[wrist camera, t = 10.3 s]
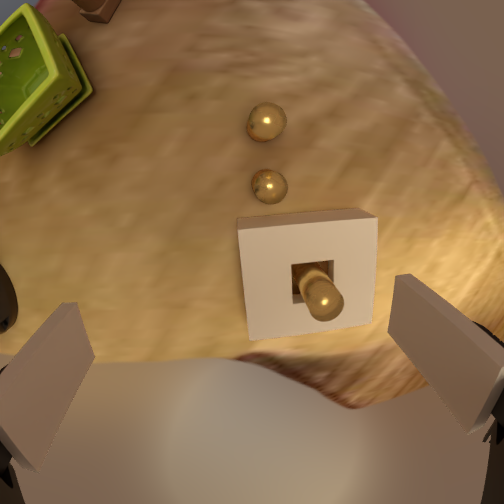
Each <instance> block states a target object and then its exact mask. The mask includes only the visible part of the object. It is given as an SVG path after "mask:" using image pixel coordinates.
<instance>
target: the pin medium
mask: <svg viewBox="0 0 504 504" xmlns="http://www.w3.org/2000/svg"><path fill="white" fill-rule="evenodd" d="M286 123H287V119H286V114H285V112H284V111H283V109H282V108H281V107H280V106H278V105H276V104H274V103H270V102H265V103H261V104H259V105H257V106H256V107H254V108H253V110H252V111H251V113H250V116H249V119H248V122H247V132H248V135H249V136H250V137H251V138H252V139H253V140H255V141H258V142H265V141H268V140H270V139H272V138H274V137H276V136H278V135H279V134H281V133H282V132H283V130H284V129H285V127H286Z"/></svg>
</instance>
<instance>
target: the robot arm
mask: <svg viewBox="0 0 504 504" xmlns="http://www.w3.org/2000/svg"><path fill="white" fill-rule="evenodd" d="M16 317H17V300H16V295H15V292H14V289H13V286H12V284H11V281H10V279H9V277H8V275H7V274H6V272H5V271H4V269H3V268H2V266H1V265H0V334H2V333H4V332H6V331H7V330H8V329H9V328H10V327H11V326H12V325H13V324H14V322H15V320H16ZM388 333H389V334H390V336H391V337H392V338H393V339H394V341H395V342H396V343H397V344H398V345H399V347H400V348H401V349H402V350H403V352H404V353H405V354H406V355H407V357H408V358H409V359H410V360H411V362H412V363H413V364H414V365H415V367H416V368H417V369H418V370H419V372H420V373H421V374H422V375H423V377H424V378H425V379H426V381H427V382H428V383H429V384H430V386H431V387H432V388H433V389H434V391H435V392H436V393H437V395H438V396H439V397H440V399H441V400H442V401H443V403H444V404H445V405H446V407H447V408H448V409H449V411H450V412H451V413H452V415H453V416H454V417H455V419H456V420H457V421H458V423H459V424H460V425H461V427H462V428H463V429H464V431H465V432H466V434H467V435H468V434H470V433H472V432H474V431H476V430H477V429H479V428H481V427H483V426H484V425H485V423H486V421H487V419H488V418H489V416H490V414H492V415H493V416H494V417H495V418H496V419H495V420H494V422H493V424H492V425H491V427H490V429H489V430H488V432H487V433H486V435H485V437H484V439H483V442H486V440H487V439H488V437H489V436H490V435H491V440H490V441H489V443H490V452H489V460H488V467H487V474H486V480H485V485H484V491H483V496H482V500H481V504H504V343H503V342H502V341H500V339H499V338H497V337H496V336H495V335H493V333H491V332H490V331H489V330H488V329H487V328H485V327H484V326H482V325H480V324H478V323H476V322H474V321H471V320H470V319H469V318H467V317H466V316H465V315H464V314H462V313H461V312H460V311H459V310H457V309H456V308H455V307H454V306H452V305H451V304H450V303H448V302H447V301H446V300H445V299H443V298H442V297H441V296H439V295H438V294H437V293H436V292H434V291H433V290H432V289H430V288H429V287H428V286H426V285H425V284H424V283H422V282H421V281H420V280H418V279H417V278H416V277H414V276H413V275H412V274H404V275H397V276H395V285H394V293H393V300H392V307H391V314H390V320H389V326H388ZM94 358H95V356H94V353H93V350H92V347H91V345H90V342H89V339H88V336H87V333H86V330H85V327H84V324H83V321H82V318H81V315H80V311H79V308H78V305H77V302H74V303H62V304H61V305H60V306H59V307H58V308H57V309H56V310H55V311H54V312H53V313H52V314H51V316H50V317H49V318H48V319H47V320H46V321H45V322H44V323H43V324H42V325H41V327H40V328H39V329H38V330H37V331H36V332H35V333H34V334H33V336H32V337H31V338H30V339H29V340H28V341H27V343H26V344H25V345H24V346H23V347H22V348H21V350H20V351H19V352H18V353H17V354H16V356H15V357H14V358H13V359H12V361H11V362H10V363H9V364H7V365H6V366H5V367H3V368H2V369H1V370H0V504H25V502H24V499H23V496H22V493H21V490H20V487H19V484H18V481H17V477H16V474H15V471H14V469H13V466H12V465H11V464H10V463H9V462H10V460H11V458H12V457H13V458H14V459H15V460H16V461H17V463H18V464H19V465H20V466H21V467H22V468H25V469H28V470H31V471H34V472H37V473H39V471H40V469H41V467H42V464H43V462H44V459H45V457H46V455H47V453H48V450H49V448H50V446H51V444H52V441H53V439H54V437H55V435H56V433H57V431H58V429H59V426H60V424H61V422H62V420H63V418H64V416H65V414H66V412H67V410H68V408H69V406H70V404H71V402H72V400H73V398H74V396H75V394H76V392H77V390H78V388H79V386H80V384H81V382H82V380H83V379H84V377H85V374H86V373H87V371H88V369H89V367H90V365H91V364H92V362H93V360H94Z"/></svg>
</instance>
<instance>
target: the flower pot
mask: <svg viewBox="0 0 504 504" xmlns="http://www.w3.org/2000/svg"><path fill="white" fill-rule="evenodd" d="M18 35H22V37H21V38H20V39H19V40H18V41H17V40H16V37H17V36H18ZM3 46H6V49H5V50H2V47H3ZM15 48H22V49H21V52H20V55H19V56H16V57H9V55H10V52H11V50H12V49H15ZM0 61H1V63H0V72H2V74H1V75H0V111H1V112H2V114H1V113H0V122H1V124H0V156H2V155H4V154H7V153H9V152H11V151H13V150H15V149H16V148H18V147H20V146H21V145H22V144H24V143H25V142H26V141H28V143H29V145H30V146H31V147H32V146H34V145H35V144H36V143H37V142H38V141H39V140H40V139H41V138H42V137H43V136H44V135H46V134H47V133H48V132H49V131H50V130H51V129H52V128H53V127H54V126H55V125H56V124H57V123H58V122H60V121H61V120H62V119H63V118H64V117H65V116H66V115H67V114H69V113H70V112H71V111H72V110H73V109H74V108H75V107H76V106H78V105H79V104H80V103H81V102H82V101H83V100H84V99H86V98H87V97H88V96H89V95H90V94H91V93H92V92H93V89H92V86H91V84H90V82H89V80H88V78H87V76H86V74H85V72H84V70H83V68H82V66H81V64H80V62H79V60H78V58H77V56H76V54H75V52H74V50H73V48H72V46H71V44H70V42H69V41H68V39H67V37H66V35H65V34H63V33H62V34H60V35H59V36H57V35H56V33H55V31H54V30H53V28H52V27H51V25H50V24H49V22H48V21H47V20H46V18H45V17H44V16H43V15H42V14H41V13H40V12H39V11H38V10H37V9H35V8H34V7H33V6H31V5H30V4H28V3H25V4H23V5H22V6H21V7H20V8H19V9H17V10H16V11H15V12H14V13H13V14H12V15H11V16H10V17H9V18H8V19H7V20H6V21H5V22H4V23H3V24H2V25H1V26H0Z"/></svg>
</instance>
